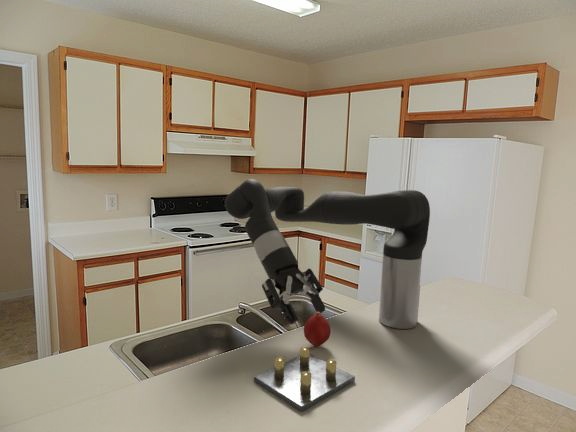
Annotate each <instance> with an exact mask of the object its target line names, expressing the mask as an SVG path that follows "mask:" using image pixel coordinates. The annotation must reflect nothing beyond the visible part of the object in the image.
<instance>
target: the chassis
mask: <svg viewBox="0 0 576 432" xmlns="http://www.w3.org/2000/svg"><path fill="white" fill-rule="evenodd" d="M355 378H356V376H355V375H353V374H351V373H349V372H348V371H345V370H343V369H341V368H339V367H337V361H336V360H335V359H327V360H326V361H325V360H323V359H321V358H319V357H317V356H315V355H312V354H311V353H310V347H308V346H301V347H300V349H299V356H297V357H295V358H292V359H290V360H288V361H286V362H285V358H283V357H280V356H279V357H276V358H274V367H272V368H270V369H268V370H265V371H263V372H261V373H258V374H255V375H254V376H253V382H254V383H255V384H257V385H259V386H260V387H262V388H263V389H265V390H267V392H268V393H269V392H270V393H271V394H272V395H274V396H276V397H277V398H279V399H280V400H282V399H283V400H284V402H286V403H287V404H288V403H289V404H288V405H290V406H291V405H292V407H293V406H294V407H295V408H294V407H293V408H294V409H296V410H297V409H298V411H299V412H301V413H302V412H305V411H306V410H307V409H309V408H311V407H312V406H315V405H316V404H318V403H320V402H322V401H324V400H325V399H327V398H329V397H330V396H332V395H333V394H335V393H337V392H339V391H341V390H342V389H344V388H345V387H347V386H350V385H351V384H353V383H354V382H355V381H356V379H355ZM283 400H282V401H283Z"/></svg>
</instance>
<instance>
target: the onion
mask: <svg viewBox="0 0 576 432" xmlns="http://www.w3.org/2000/svg"><path fill="white" fill-rule="evenodd" d="M331 330H332V329H331V325H330V322H329V321H328V320H327V318H325V317H324V316H323V315H322V313H321V314H320V312H316V313H315V314H313V315H311V316H310V317H309V318H308V319H307V320H306V321H305V323H304V325H303V334H304V338H305V339H306V341H307V342H309V344H310V345H312V346H313V347H314V348H320V347H321V346H322V345H324V344H325V343H326V342H327V341H328V340H330V337H331V334H332V331H331Z"/></svg>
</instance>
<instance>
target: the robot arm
mask: <svg viewBox="0 0 576 432" xmlns="http://www.w3.org/2000/svg"><path fill="white" fill-rule="evenodd" d="M224 206H225V210H226V211H227V213H228V214H229V215H230V216H231V217H233V218H235V219H239V220H245V219H247V221H246V222H245V224H244V225H245V226H244V228H245V231H246V233H247V236H248V238H249V239H250V241H251V243H252V244H251V245H252V246H253V247H254V250H255V251H254V252H255V253H256V255H257V257H258V259H259V261H260V263H261V265H262V267H263V270H264V272H265V273H266V275H267V277H268V278H267V279H266V280H265V281H264V282H263V283H262V284H261V288H262V290H263V292H264V294H265V296H266V299H267V301H268V303H269V306H270V308H271V309H275V308H276V309H278V310H281V311H282V313H283V316H284V318H285V319H286V322H288V323H289V324H290V325H294V324H296V322H298V320H299V318H298V316H297V314H296V312H295V310H294V308H293V306H292V304H291V303H290V296H292V295H297V294H300V296H305V297H306V298H308V299H310V303H311V305H312V306H313V308H314V309H315V311H316V313H317V312H320V314H321V315H322V314H323V313H324V312H325V311H326V305H325V303H324V302H323V301H322V298H321V297H320V293H321V292H322V291H323V290H324V288H323V286H322V284H321V283H320V282H319V280H318V278H317V276H316V275H315V273H314V271H313V270H312V268H307V269H306V270H305V271H301V270H300V269H299V262H298V260H297V258H296V255H295V254H294V252H293V250H292V249H291V246H290V245H289V244H288V242H287V240H286V238H285V237H284V235H283V234H282V233H281V231H280V230H279V228H278V226H277V224H276V223H275V220H274V219H273V215H272V213H273V212H274V215H275V218H276V219H277V220H279V221H282V222H288V223H290V222H291V223H299V222H300V223H302V222H304V223H306V222H307V223H308V222H309V223H310V222H311V223H313V222H315V223H321V224H329V225H343V226H346V225H361V224H365V225H373V226H378V227H382V228H387V229H393V233H392V235H391V236H390V237H389V238H388V239H387V240H386V241H385V242H384V244H383V252H382V253H383V254H382V267H381V283H380V299H379V314H378V321H379V323H380V324H383V326H386V327H388V328H393V329H401V330H408V329H409V330H410V329H413V328H415V327H416V326H417V322H418V320H419V319H418V318H419V306H420V296H421V295H420V293H421V292H420V291H421V276H422V275H421V272H422V258H423V251H424V249H425V247H426V245H427V240H428V233H429V225H430V218H431V217H430V216H431V208H430V203H429V200H428V197H426V195H425V194H424V193H422V192H421V191H419V190H414V189H411V190H409V189H407V190H394V191H390V192H389V191H388V192H384V193H377V194H376V193H375V194H361V193H357V192H355V191H354V192H352V191H344V190H343V191H342V190H339V191H337V190H336V191H335V190H334V191H327V192H325V193H323V194H321V195H320V196H319V197H317V198H316V199H315V200H314V201H313V202H312V203H311V204H310V205H309V206H307V207H306V208H305V193H304V191H303V189H302V188H300V187H296V186H276V187H270V188H269V187H264V186H263V184H262V183H261V182H260V181H259V180H257V179H255V178H249V179H246V180H244V181H243V182H242V183H241V184H239V185H238V186H237V187H236V188H235V189H233V191H231V192H230V193H228V195H227V196H226V197H225V200H224ZM277 290H278V291H277Z"/></svg>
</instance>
